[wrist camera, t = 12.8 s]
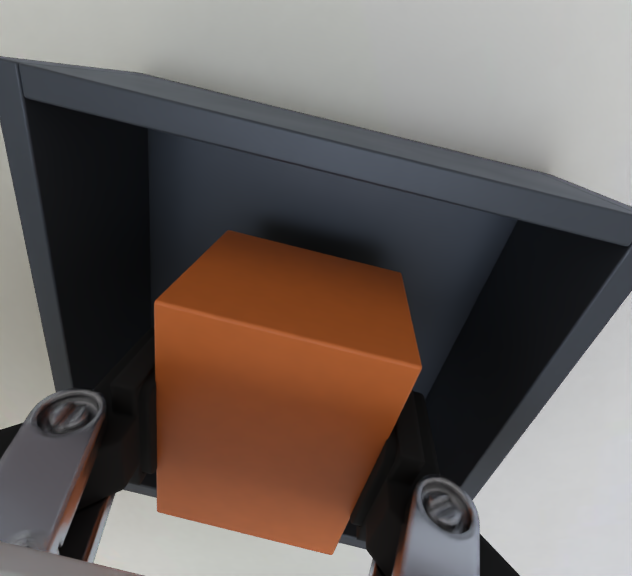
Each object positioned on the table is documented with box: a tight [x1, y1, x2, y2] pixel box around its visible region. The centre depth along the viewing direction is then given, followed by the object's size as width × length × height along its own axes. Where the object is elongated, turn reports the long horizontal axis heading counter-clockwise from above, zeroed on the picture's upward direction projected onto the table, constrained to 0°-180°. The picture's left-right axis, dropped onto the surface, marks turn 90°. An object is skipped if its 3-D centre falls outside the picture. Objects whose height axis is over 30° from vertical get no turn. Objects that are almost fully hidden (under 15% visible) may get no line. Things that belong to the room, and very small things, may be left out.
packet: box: [154, 230, 422, 555], centre depth 10 cm, size 5×7×4 cm
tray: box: [0, 56, 632, 549], centre depth 12 cm, size 13×13×5 cm
